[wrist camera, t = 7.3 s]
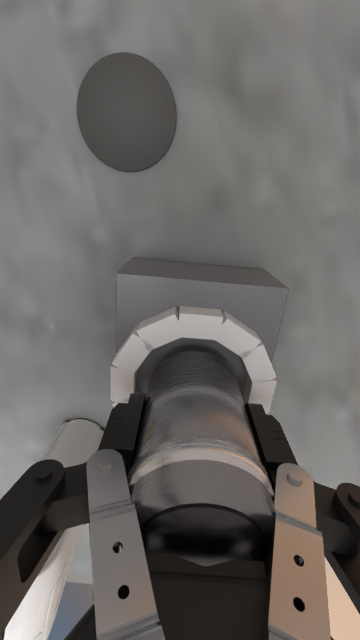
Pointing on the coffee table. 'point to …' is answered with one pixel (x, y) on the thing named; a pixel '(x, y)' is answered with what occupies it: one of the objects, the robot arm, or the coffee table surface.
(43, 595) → the photo printer
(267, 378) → the camera body
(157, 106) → the lens cap
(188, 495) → the lens
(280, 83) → the coffee table surface
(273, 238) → the coffee table surface
